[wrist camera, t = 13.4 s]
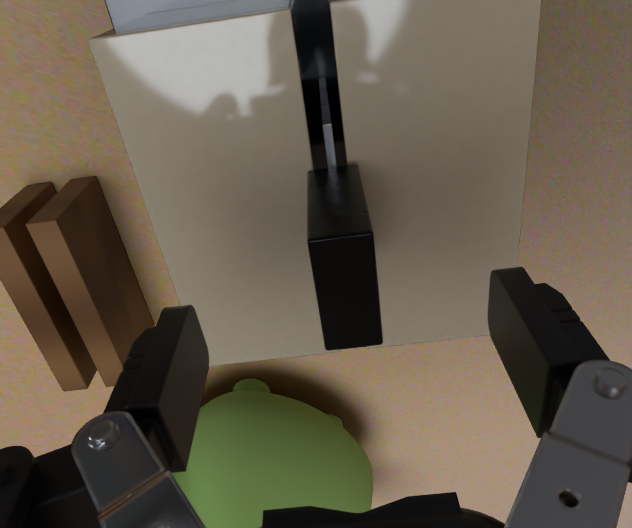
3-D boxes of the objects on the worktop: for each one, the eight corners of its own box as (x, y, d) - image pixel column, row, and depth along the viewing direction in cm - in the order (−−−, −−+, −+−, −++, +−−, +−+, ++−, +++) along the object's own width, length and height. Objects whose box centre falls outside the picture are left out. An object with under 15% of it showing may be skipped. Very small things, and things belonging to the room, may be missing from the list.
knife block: (25, 185, 26) (-28, 231, 22) (96, 175, 26) (55, 220, 22) (95, 332, 32) (63, 392, 28) (154, 325, 32) (131, 384, 27)
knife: (302, 80, 23) (297, 188, 13) (341, 74, 23) (369, 179, 13) (322, 217, 27) (331, 387, 16) (356, 213, 26) (386, 381, 16)
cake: (105, -22, 22) (19, -8, 15) (512, -87, 21) (605, -101, 14) (205, 299, 31) (178, 394, 24) (491, 265, 30) (543, 354, 23)
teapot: (432, 433, 37) (482, 630, 27) (327, 521, 43) (333, 711, 32) (186, 313, 31) (122, 506, 20) (101, 435, 37) (18, 635, 26)
